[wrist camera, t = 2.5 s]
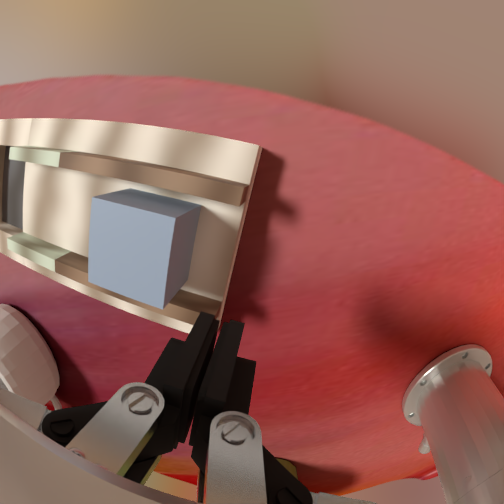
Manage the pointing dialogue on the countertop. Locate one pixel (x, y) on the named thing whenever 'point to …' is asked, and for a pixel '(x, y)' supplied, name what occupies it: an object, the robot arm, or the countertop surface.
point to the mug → (26, 359)
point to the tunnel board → (115, 179)
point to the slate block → (141, 244)
